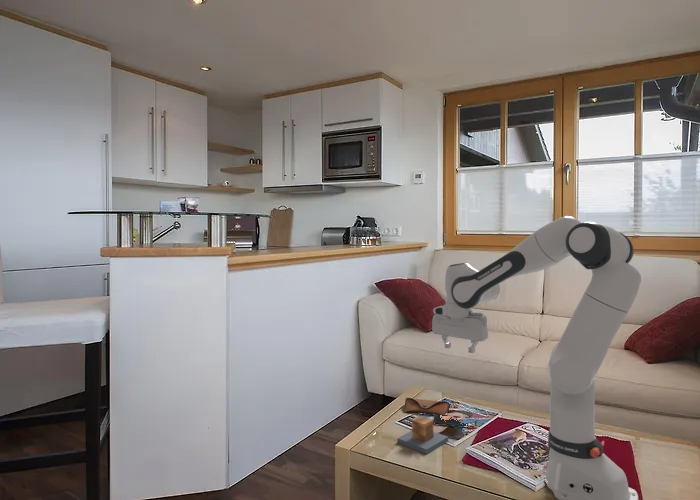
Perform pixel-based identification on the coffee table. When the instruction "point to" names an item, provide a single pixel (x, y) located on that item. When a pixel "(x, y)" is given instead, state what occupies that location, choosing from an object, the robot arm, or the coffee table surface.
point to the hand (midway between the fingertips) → (459, 350)
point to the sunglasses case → (426, 406)
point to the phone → (449, 421)
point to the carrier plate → (423, 446)
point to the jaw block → (422, 428)
